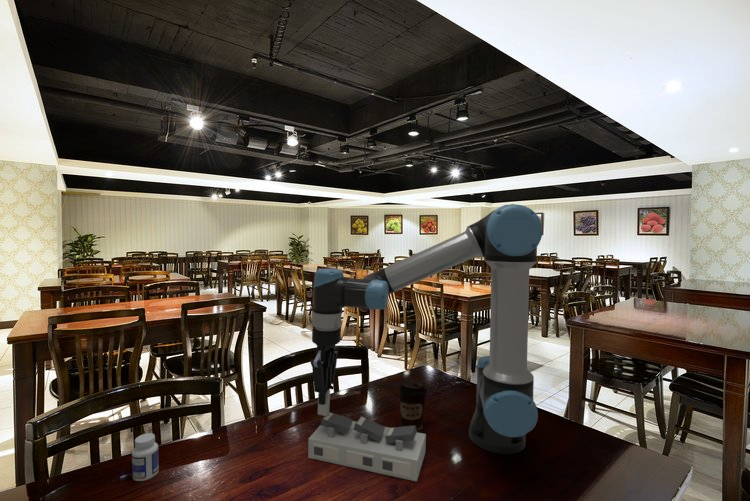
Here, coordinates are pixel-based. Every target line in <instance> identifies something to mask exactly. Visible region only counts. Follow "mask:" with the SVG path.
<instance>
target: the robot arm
mask: <svg viewBox="0 0 750 501" xmlns="http://www.w3.org/2000/svg"><path fill="white" fill-rule="evenodd" d="M543 229H544V228H543V224H542V220H541V219H540V217H539V216H538V214H537V212H535V211H534V210H533V209H531V208H530V207H528V206H525V205H523V204H517V203H516V204H515V203H511V204H510V203H509V204H504V205H502V206H500V207H498V208H496V209H494V210H492V211H491V212H489V214H486V215H485V216H484V217H483V218H481V219H480V220H478V221H476V222H474V223H472V224H469V225H468V226H466V229H465V231H463V232H461V233H458V234H456V235H455V236H452V237H450V238H448V239H445V240H443V241H441V242H439V243H437V244H434V245H432V246H430V247H428V248H425V249H423V250H420V251H419V252H417V253H415V254H412V255H410V256H408V257H406V258H404V259H401V260H399V261H396V262H395V263H393V264H390V265H387V266H386V267H383V268H382V269H380V270H377V271H374V272H371V273H369V274H367V275H365V277H363V278H352V277H351V278H349V277H345V276H344V271H343V270H341V269H339V268H338V269H337V268H319V269H317V270H316V271H315V272H314V278H313V279H314V281H313V287H312V288H313V299H312V300H313V307H312V314H311V317H312V330H311V341H312V343H313V344H314V345H316V349H315V358H313V359H311V360H310V365H311V369H312V379H313V391H314V392H315V393H318V395H317V396H318V397H317V415H318V416H323V417H324V416H328V415H329V412H330V406H331V405H330V401H331V390H332V391H333V390H334V388H335V387H334V386H333V385H334V383H335V376H336V369H337V363H338V362H337V361H338V355H339V351H340V347H338V346H336V345H337V344H339V343H341V340H342V338H341V336H342V334H341V332H342V329H341V327H342V313H343V311H342V310H343V309H342V307H345V308H356V309H367V310H372V311H374V310H385V309H386V308H387V306H388V300H389V295H391V294H393V293H395V292H398V291H400V290H402V289H405V288H406V287H409V286H412V285H413V284H415V283H418V282H420V281H423V280H425V279H427V278H429V277H432V276H434V275H437V274H439V273H441V272H443V271H446V270H448V269H451V268H453V267H454V266H458V265H460V264H462V263H464V262H467V261H469V260H472V259H474V258H476V257H478V258H484V262H485V263H486V264H487V265H488V266H489V267H490V269H491V270H490V273H491V274H490V312H489V313H490V314H489V316H490V318H489V320H490V321H489V323H490V324H489V325H490V327H489V355H483V356H481V357H479V358H478V360H477V366H476V369H477V370H476V371H477V372H476V375H477V376H476V399H475V400H476V401H475V404H476V405H475V411H474V413H473V416H472V418H471V420H470V424H469V426H468V427H469V428H468V437H469V440H471V442H472V443H473V444H474V445H475V446H477V447H479V448H480V449H483V450H485V451H487V452H490V453H493V454H494V453H495V454H498V455H513V454H518V453H520V452H522V451H523V450H524V449H525V447H526V435H527V434H528V433H529V432H532V430H534V428H535V427H536V424H537V423H538V418H539V413H538V412H539V411H538V407H537V405H536V402H535V401H534V382H535V381H534V380H535V379H534V375H533V373H532V372H531V371H530V370H529V369H528V338H529V301H530V300H529V299H530V298H529V297H530V296H529V294H530V291H529V290H530V270H531V269H532V268H533V266H534V265H535V264H537V260H538V259H537V258H538V255H537V254H538V246H539V244H540V243H541V240H542V237H543V233H544V232H543V231H544V230H543Z"/></svg>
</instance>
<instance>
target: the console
mask: <svg viewBox="0 0 750 501" xmlns="http://www.w3.org/2000/svg"><path fill="white" fill-rule="evenodd" d="M342 416H343V417H345V416H344V415H342ZM372 421H373V422H375V421H374V420H372ZM356 422H357V421H355V420H352V424H351V426H350V428H349V429H348V430H347V432H346V433H342V432H339V431H336V430H335V428H332V427H328V428H327V427H324V426H321V424H320V425H319V426H318V427H317V428H316V429H315V431H314V432H313V433H312V434H311V435H310V436H309V437H308V441H307V444H308V447H307V448H308V450H307V451H308V452H307V454H308V456H307V458H308V459H312V460H316V461H321V462H327V463H330V464H335V465H339V466H344V467H349V468H354V469H358V470H363V471H366V472H367V471H368V472H372V473H375V474H376V473H377V474H380V475H385V476H389V477H394V478H398V479H402V480H403V479H404V480H409V481H412V482H418V478H419V476H420V472H421V469H422V466H423V462H424V458H425V455H426V446H427V445H426V444H427V443H426V442H427V441H426V440H427V434H426V433H422V432H418V431H417V432H416V435H415V438H414V441H406V442H403V441H401V440H396V442H395V443H386V439H385V436H386V434H387V432H388V430H389V428H390V427H388V426H383V425H382V426H383V427H385V429H384V433H383V435H382V436H381V438H380V440H379V442H378V441H376V440H374V439H372V438H370V437H368V434H364V433H360V432H357V431H355V430H353V429H354V426H355V424H356Z"/></svg>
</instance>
